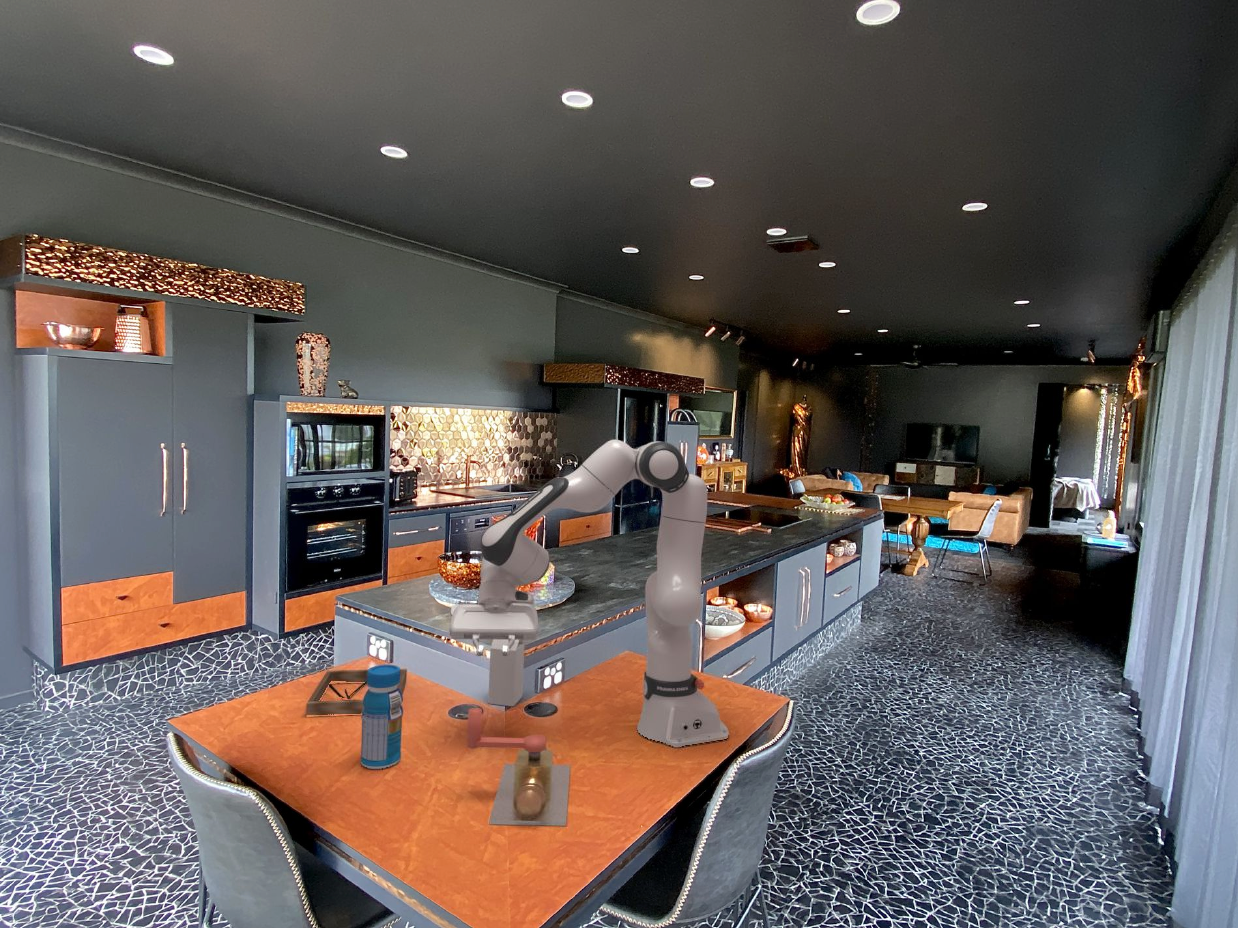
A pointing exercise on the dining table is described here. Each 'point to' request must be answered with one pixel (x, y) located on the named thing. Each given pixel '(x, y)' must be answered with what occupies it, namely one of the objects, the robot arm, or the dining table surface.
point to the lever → (475, 740)
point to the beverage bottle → (382, 718)
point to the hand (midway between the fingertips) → (492, 654)
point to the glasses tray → (345, 705)
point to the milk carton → (506, 673)
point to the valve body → (532, 791)
